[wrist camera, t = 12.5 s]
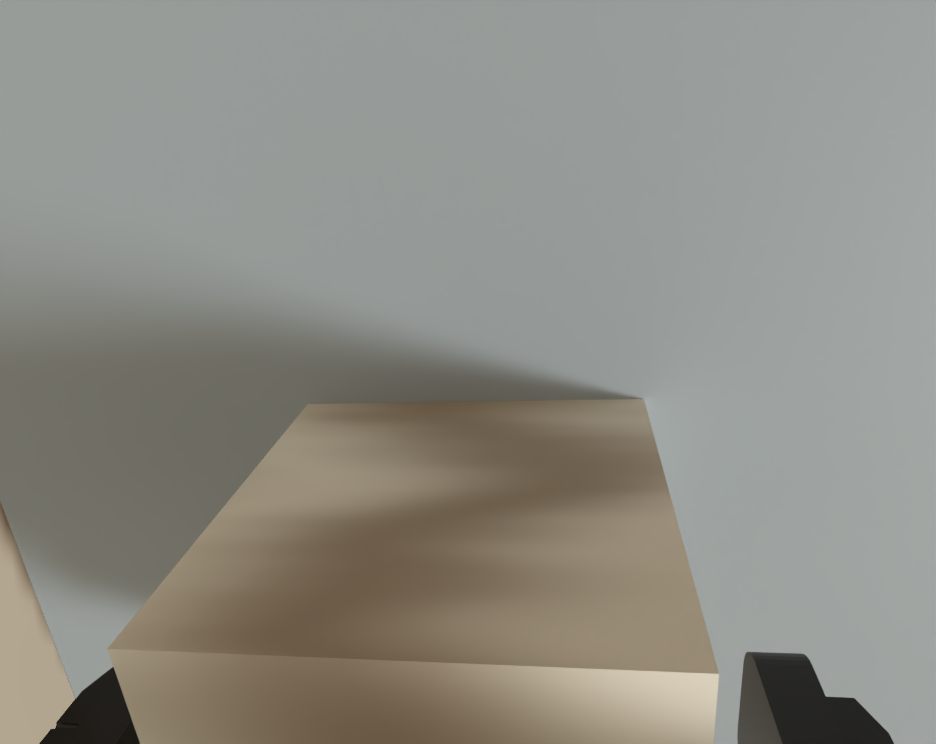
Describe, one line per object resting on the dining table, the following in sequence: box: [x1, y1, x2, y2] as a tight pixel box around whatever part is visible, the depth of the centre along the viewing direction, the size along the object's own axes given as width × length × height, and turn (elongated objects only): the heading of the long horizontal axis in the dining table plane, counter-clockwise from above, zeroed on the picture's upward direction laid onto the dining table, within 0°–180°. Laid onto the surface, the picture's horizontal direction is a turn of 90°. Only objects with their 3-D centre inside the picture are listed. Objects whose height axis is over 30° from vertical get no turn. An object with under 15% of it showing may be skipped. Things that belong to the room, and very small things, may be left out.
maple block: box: [108, 399, 719, 744], centre depth 10 cm, size 6×6×6 cm
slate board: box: [0, 0, 936, 744], centre depth 14 cm, size 20×20×1 cm
